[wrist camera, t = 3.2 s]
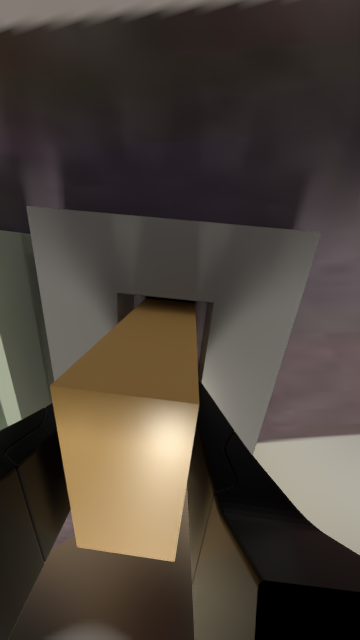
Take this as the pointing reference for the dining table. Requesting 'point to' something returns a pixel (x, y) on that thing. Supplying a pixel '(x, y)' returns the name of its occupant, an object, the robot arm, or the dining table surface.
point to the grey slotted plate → (177, 293)
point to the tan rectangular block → (131, 431)
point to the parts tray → (21, 333)
